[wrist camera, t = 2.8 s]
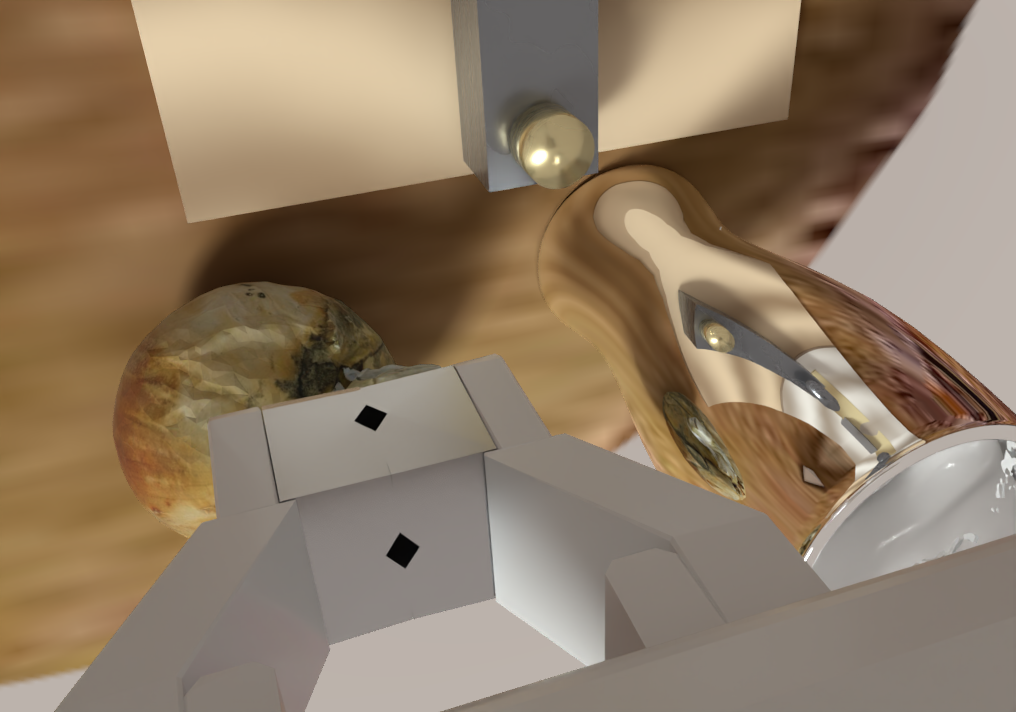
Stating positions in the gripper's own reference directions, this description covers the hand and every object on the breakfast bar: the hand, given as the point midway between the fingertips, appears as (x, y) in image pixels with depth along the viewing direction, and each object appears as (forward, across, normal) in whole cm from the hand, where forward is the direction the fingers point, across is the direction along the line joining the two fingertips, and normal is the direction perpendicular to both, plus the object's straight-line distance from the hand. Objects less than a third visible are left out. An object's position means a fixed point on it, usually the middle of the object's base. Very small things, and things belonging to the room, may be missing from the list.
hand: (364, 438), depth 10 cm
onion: (+18, +1, +9) cm, 20 cm away
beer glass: (+18, -11, +8) cm, 22 cm away
